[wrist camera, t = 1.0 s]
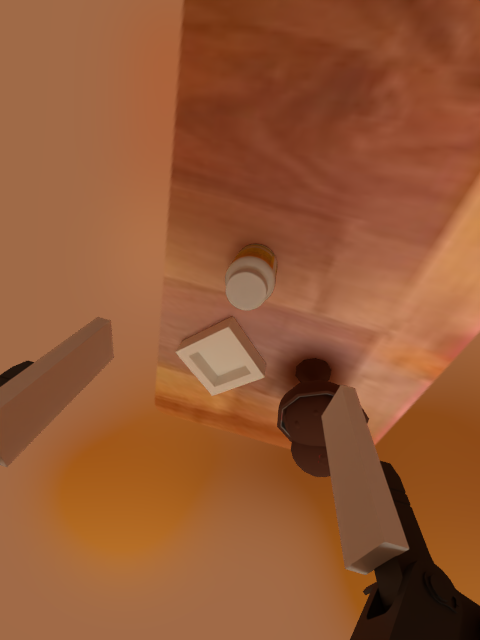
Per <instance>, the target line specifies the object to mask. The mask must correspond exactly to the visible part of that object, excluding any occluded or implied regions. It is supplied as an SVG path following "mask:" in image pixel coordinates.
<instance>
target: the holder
mask: <svg viewBox="0 0 480 640" xmlns="http://www.w3.org/2000/svg"><path fill="white" fill-rule="evenodd" d="M176 354H177V355H178V356H179V357H180V358H181V359H182V361H183V362H184V363H185V364H186V365H187V366H188V368H189V369H190V370H191V371H192V372H193V373H194V375H195V376H196V377H197V378H198V379H199V381H200V382H201V383H202V384H203V385H204V386H205V388H206V389H207V390H208V391H209V392H210V393H211V395H212V396H213V395H216V394H219V393H222V392H225V391H227V390H230V389H233V388H236V387H239V386H242V385H244V384H247V383H250V382H253V381H256V380H259V379H261V378H264V377H265V370H266V363H265V362H264V360H263V359H262V357H261V356H260V355H259V353H258V352H257V350H256V349H255V347H254V346H253V344H252V343H251V342H250V340H249V339H248V337H247V336H246V334H245V333H244V331H243V330H242V329H241V327H240V326H239V324H238V323H237V321H236V320H235V318H234V317H233V316H232V317H230V318H228V319H225V320H223V321H221V322H219V323H217V324H215V325H213V326H211V327H209V328H207V329H205V330H203V331H201V332H199V333H197V334H195V335H193V336H191V337H189V338H187V339H185V340H183V341H182V342H181V344H180V346H179V347H178V349H177V350H176Z"/></svg>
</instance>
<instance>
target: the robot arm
mask: <svg viewBox="0 0 480 640" xmlns="http://www.w3.org/2000/svg"><path fill="white" fill-rule="evenodd" d="M113 358H114V354H113V342H112V330H111V320H107V319H103V318H100V317H97V318H96V319H94V320H93V321H91V322H90V323H89V324H87V325H86V326H85V327H83V328H82V329H80V330H79V331H78V332H76V333H75V334H73V335H72V336H71V337H69V338H68V339H66V340H65V341H64V342H62V343H61V344H60V345H58V346H57V347H55V348H54V349H53V350H51V351H50V352H48V353H47V354H46V355H45V356H43V357H41V358H40V359H39V360H37V361H36V362H35V363H34V362H31V361H26V362H23V363H21V364H18V365H16V366H13V367H12V368H10V369H9V370H7V371H6V372H4V373H3V374H1V375H0V465H2V466H6V467H7V466H8V465H10V464H11V463H12V461H13V460H14V459H15V458H16V457H17V456H18V455H19V454H20V453H21V452H22V451H23V450H24V449H25V448H26V447H27V446H28V445H29V444H30V443H31V442H32V441H33V440H34V439H35V438H36V437H37V436H38V435H39V434H40V433H41V432H42V431H43V430H44V429H45V428H46V427H47V426H48V425H49V424H50V423H51V421H52V420H53V419H54V418H55V417H56V416H57V415H58V414H59V413H60V412H61V411H62V410H63V409H64V408H65V407H66V406H67V405H68V404H69V403H70V402H71V401H72V400H73V399H74V398H75V397H76V396H77V395H78V394H79V393H80V392H81V391H82V390H83V388H85V387H86V386H87V385H88V384H89V383H90V382H91V381H92V379H93V378H94V377H95V376H96V375H97V374H98V373H99V372H100V371H101V370H102V369H103V368H104V367H105V366H106V365H107V364H108V363H109V362H110V361H111V360H112V359H113ZM321 417H322V423H323V430H324V436H325V442H326V449H327V455H328V462H329V468H330V475H331V481H332V487H333V494H334V500H335V506H336V513H337V519H338V526H339V532H340V538H341V544H342V551H343V558H344V564H345V569H348V570H351V571H355V572H358V573H361V574H365V575H366V574H368V573H370V572H371V571H373V570H374V571H375V575H376V579H377V582H376V583H374V584H372V585H370V586H368V587H366V589H365V590H364V591H363V592H364V594H365V595H367V594H369V593H370V595H369V597H368V599H367V602H366V604H365V606H364V609H363V611H362V613H361V615H360V618H359V620H358V622H357V625H356V627H355V629H354V632H353V634H352V636H351V639H350V640H480V606H479V605H478V604H476V603H475V602H473V601H472V600H470V599H469V598H467V597H466V596H464V595H463V594H461V593H460V592H459V591H457V590H456V589H455V587H454V585H453V584H452V582H451V580H450V579H449V578H448V577H447V575H446V574H445V573H444V572H443V571H442V570H441V569H440V568H439V567H438V566H437V565H435V564H434V562H433V560H432V558H431V556H430V554H429V551H428V548H427V546H426V543H425V541H424V538H423V536H422V533H421V530H420V528H419V526H418V523H417V520H416V518H415V515H414V513H413V510H412V508H411V507H410V502H409V500H408V497H407V495H406V494H405V489H404V487H403V484H402V482H401V479H400V477H399V476H398V474H397V473H396V471H395V470H394V468H393V467H392V465H391V464H390V463H386V462H383V461H379V458H378V455H377V452H376V449H375V446H374V443H373V440H372V437H371V434H370V431H369V428H368V425H367V422H366V419H365V416H364V414H363V411H362V408H361V405H360V402H359V399H358V396H357V393H356V390H355V388H352V387H348V386H345V385H341V386H340V387H339V389H338V390H337V392H336V394H335V395H334V397H333V399H332V400H331V402H330V403H329V405H328V407H327V408H326V410H325V411H324V413H323V415H322V416H321Z"/></svg>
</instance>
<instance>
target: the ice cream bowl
mask: <svg viewBox="0 0 480 640" xmlns="http://www.w3.org/2000/svg"><path fill="white" fill-rule="evenodd" d="M330 373H331V368H330V367H329V366H328V364H327V363H326V362H324V361H322V360H319V359H316V358H315V359H308V360H304V361H302V362H301V363H300V364H299V365H298V366H297V367H296V377H297V378H298V379H299V380H300V382H301V383H299V384H298V385H296V386H295V387H294V388H293V389H291V390H290V391H289V392H288V393H286V394H285V395H284V397H283V398H282V400H281V402H280V405H279V410H278V423H277V427H278V428H279V429H280V430H281V431H282V432H283V433H284V434H285V436H286V437H287V438H288V439H289V440H290V441H291V442H292V445H291V452H292V456H293V459H294V460H295V462H296V464H297V465H298V466H299V467H300V468H301V469H302V470H303V471H304V472H306V473H309V474H311V475H313V476H316V477H327V476H331V475H330V468H329V462H328V455H327V449H326V442H325V436H324V430H323V423H322V417H321V416H322V415H323V413H324V411H325V410H326V408H327V407H328V405H329V403H330V402H331V400H332V399H333V397H334V395H335V394H336V392H337V390H338V389H339V387H340V385H337V384H334V383H331V382H328V380H329V378H330ZM361 408H362V407H361ZM362 411H363V414H364V416H365V419H366V422H367V423H368V420H369V418H368V417H367V415H366V413H365V412H364V410H363V409H362Z"/></svg>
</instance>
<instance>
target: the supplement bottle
mask: <svg viewBox="0 0 480 640" xmlns="http://www.w3.org/2000/svg"><path fill="white" fill-rule="evenodd" d="M276 272H277V260H276V257H275V255H274V253H273V252H272V251H271V250H270V249H269V248H267V247H266V246H264V245H261V244H251V245H248V246H246V247H244V248H243V249H242V250H241V251H240V252H239V253H238V255H237V256H236V258H235V259H234V260H233V262H232V263H231V265H230V266H229V268H228V269H227V272H226V276H225V285H226V296H227V298H228V300H229V302H230V303H231V304H232V305H233V306H235V307H236V308H238V309H241V310H253V309H256V308H258V307H259V306H261V305H262V304H263V302H264V301H265V300H267V299H268V298H269V297H270V296H271V294H272V292H273V290H274V287H275V281H276Z"/></svg>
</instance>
